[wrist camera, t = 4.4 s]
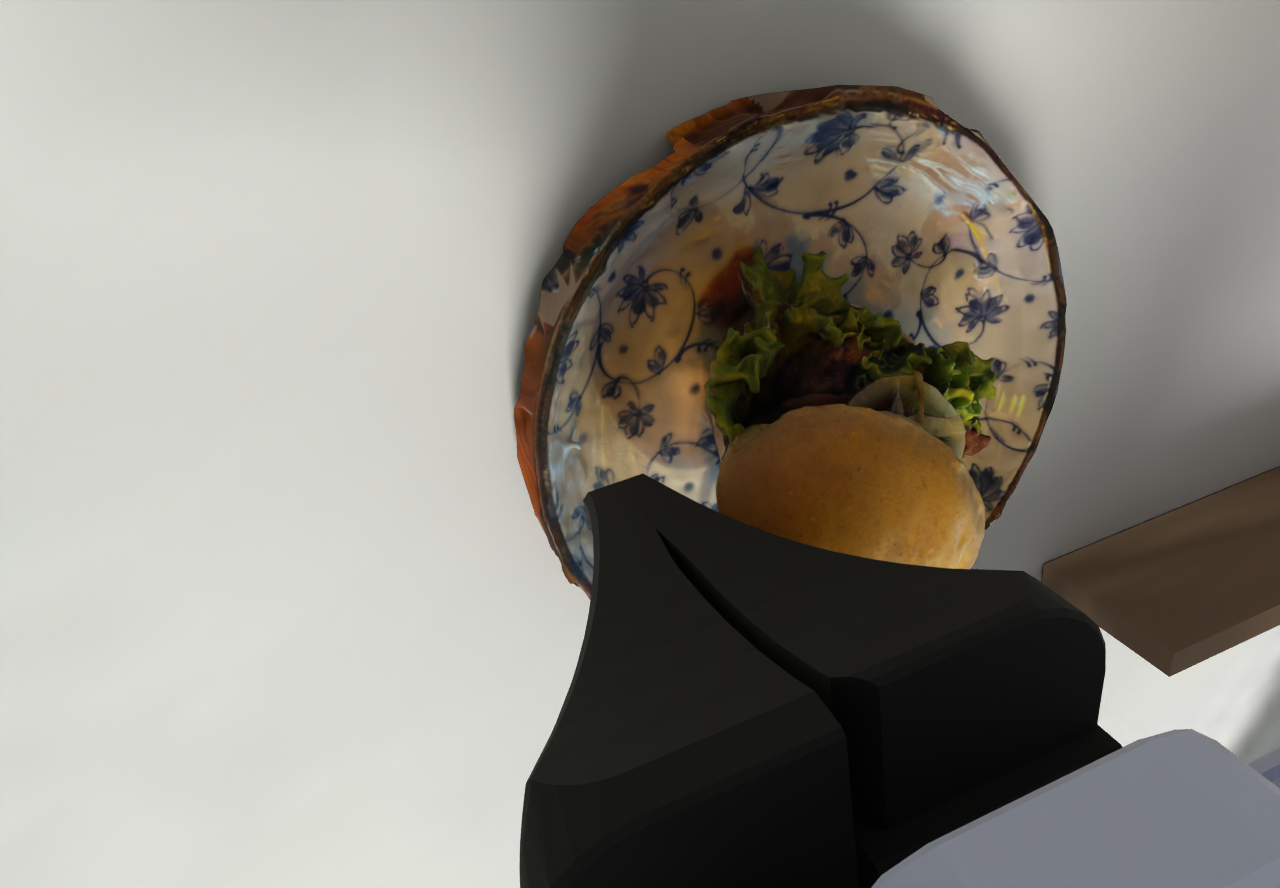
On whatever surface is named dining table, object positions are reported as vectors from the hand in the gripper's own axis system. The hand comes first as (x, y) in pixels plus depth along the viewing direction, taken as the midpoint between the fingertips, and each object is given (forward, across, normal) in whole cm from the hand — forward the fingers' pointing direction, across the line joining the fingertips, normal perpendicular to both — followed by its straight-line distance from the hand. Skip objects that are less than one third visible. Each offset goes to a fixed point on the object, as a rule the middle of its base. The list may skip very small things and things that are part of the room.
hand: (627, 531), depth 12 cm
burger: (+3, -5, 0) cm, 6 cm away
